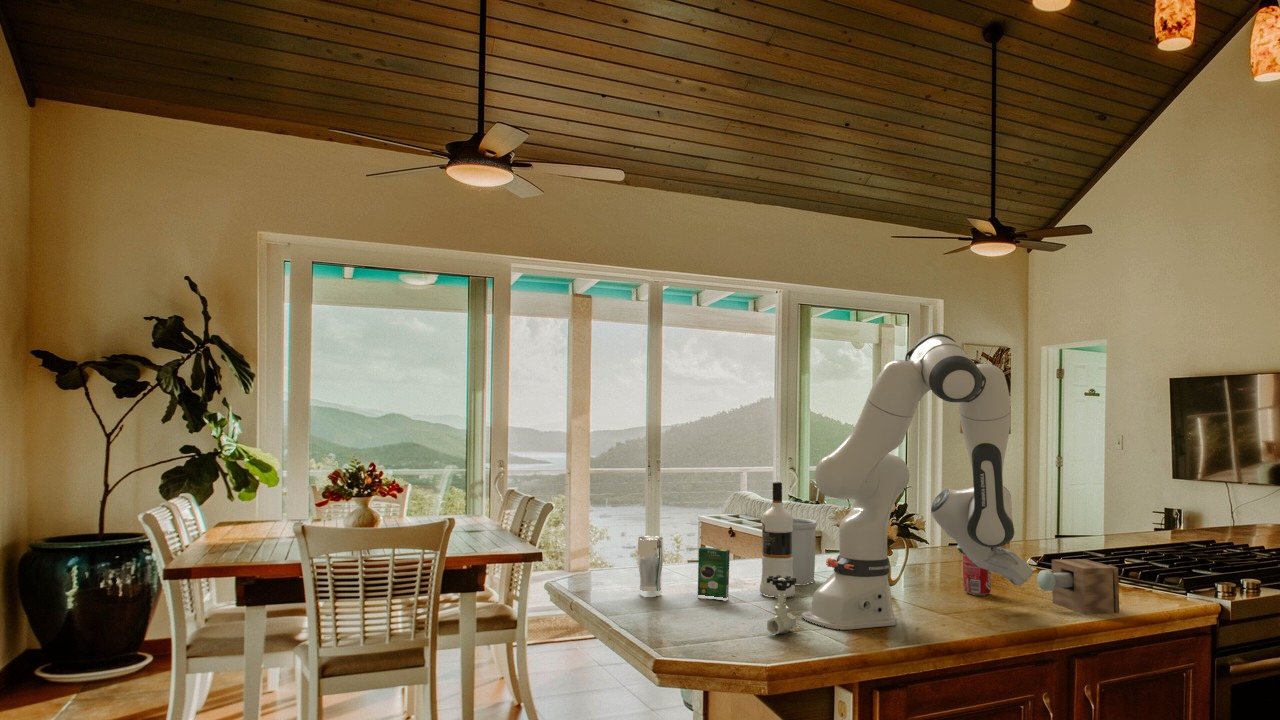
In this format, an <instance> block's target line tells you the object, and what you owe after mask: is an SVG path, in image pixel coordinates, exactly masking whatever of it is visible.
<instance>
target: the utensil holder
mask: <svg viewBox="0 0 1280 720" xmlns="http://www.w3.org/2000/svg"><path fill="white" fill-rule="evenodd" d="M792 517H793V516H792ZM817 526H818V525H817V521H816V520H815V519H810V518H805V517H793V527H792V528H793V530H792V557H793V567H792V568H793V578H796V583H795V584H807V583H811V582H813V581H814V582H815V566H816V536H817V535H816V533H817V532H816V531H817V530H816V528H817ZM814 582H813V583H814Z"/></svg>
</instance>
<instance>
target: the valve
mask: <svg viewBox="0 0 1280 720" xmlns="http://www.w3.org/2000/svg"><path fill="white" fill-rule="evenodd" d="M770 581H772V585H775V586H776V588H777V590H779V594H778V595H777V598H776V599H777V600H776V601H777V602H778V603H776V605H775V606H774V612H775V613H776V615H775V616H773V618H770V619H768V620H767V621H766V622H767V623H766V629H767V631H768V632H769V633H770V634H771V633H772V634H777V635H779V633H785V634H787V633H788V632H790V630H792V629H794V628H796V626H797V618H796V617H795V616H794V615H793V614H792V613H791V612H789V607H788V605H787V604H786V603H785V602H787V598H786V595H785V594H784V591H786V589H788V588H790V587H791V586H792V585H794V586H796V585H795V583H796V578H791V577H790V576H786V577H781V576H780V575H777V576H776V577H773V576H769V577H768V578H767V583H770ZM787 583H789V586H787ZM772 634H771V635H772Z"/></svg>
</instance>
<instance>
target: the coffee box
mask: <svg viewBox="0 0 1280 720" xmlns="http://www.w3.org/2000/svg"><path fill="white" fill-rule="evenodd" d="M730 553H731V552H730V549H725V548H713V547H705V546H701V547H698V559H697V560H698V564H697V565H698V568H697V596H698V595H705V596H714V597H723V598H727V597H728V598H729V587H730V586H729V585H730V584H729V583H730V581H729V580H730Z"/></svg>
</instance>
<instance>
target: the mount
mask: <svg viewBox="0 0 1280 720" xmlns="http://www.w3.org/2000/svg"><path fill="white" fill-rule="evenodd" d="M1051 572H1052V573H1073V572H1074V587H1062V588H1054V590H1052V592H1051V593H1052V603H1053V602H1054V603H1053V604H1055V603H1056V604H1055V605H1058V604H1059V605H1058V606H1061V605H1062V606H1061V607H1064V608H1066V607H1067V608H1066V609H1069V608H1070V610H1072V609H1073V611H1075V610H1076V611H1075V612H1078V611H1079V612H1078V613H1081V614H1083V613H1086V614H1085V615H1091V614H1092V615H1094V614H1093V613H1099V614H1114V613H1115V614H1120V591H1119V590H1120V588H1119V587H1120V585H1119V582H1120V581H1119V567H1116V566H1113V565H1109V564H1106V563H1105V564H1104V563H1101V562H1098V561H1093V560H1090V559H1086V558H1085V559H1084V558H1081V559H1079V558H1076V559H1075V558H1074V559H1073V558H1072V559H1070V558H1069V559H1068V558H1067V559H1051ZM1090 613H1091V614H1090Z"/></svg>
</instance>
